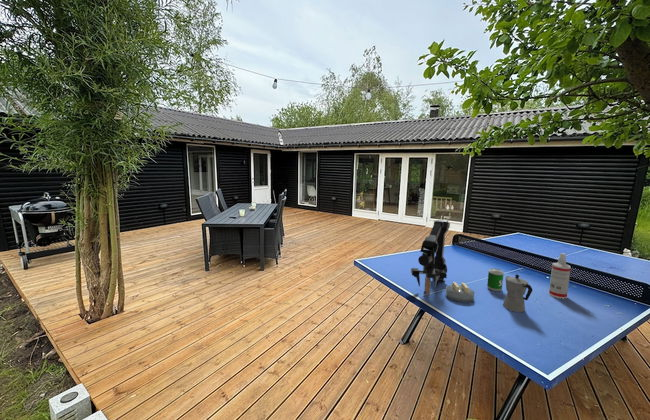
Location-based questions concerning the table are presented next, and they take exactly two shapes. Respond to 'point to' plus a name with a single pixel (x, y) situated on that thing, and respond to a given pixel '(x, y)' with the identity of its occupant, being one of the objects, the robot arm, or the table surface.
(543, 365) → the table surface
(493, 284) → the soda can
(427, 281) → the tall brown wooden block
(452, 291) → the blue-grey bowl
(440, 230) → the robot arm
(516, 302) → the coffeepot
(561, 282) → the white squeeze bottle
